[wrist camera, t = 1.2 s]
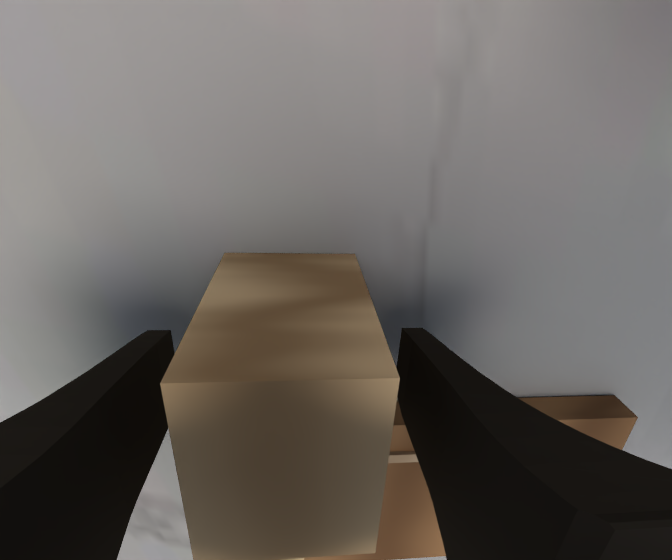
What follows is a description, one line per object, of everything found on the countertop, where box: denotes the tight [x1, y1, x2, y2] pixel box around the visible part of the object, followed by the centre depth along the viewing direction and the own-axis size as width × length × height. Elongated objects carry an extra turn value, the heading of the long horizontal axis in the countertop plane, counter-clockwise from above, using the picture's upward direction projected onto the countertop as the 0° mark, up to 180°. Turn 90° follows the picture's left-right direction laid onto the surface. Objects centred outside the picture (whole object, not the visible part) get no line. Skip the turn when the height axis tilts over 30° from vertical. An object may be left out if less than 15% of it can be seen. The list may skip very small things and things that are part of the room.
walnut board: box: [281, 395, 638, 560], centre depth 16 cm, size 16×8×1 cm, turn 88°
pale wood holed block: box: [160, 253, 400, 560], centre depth 11 cm, size 4×8×6 cm, turn 178°
